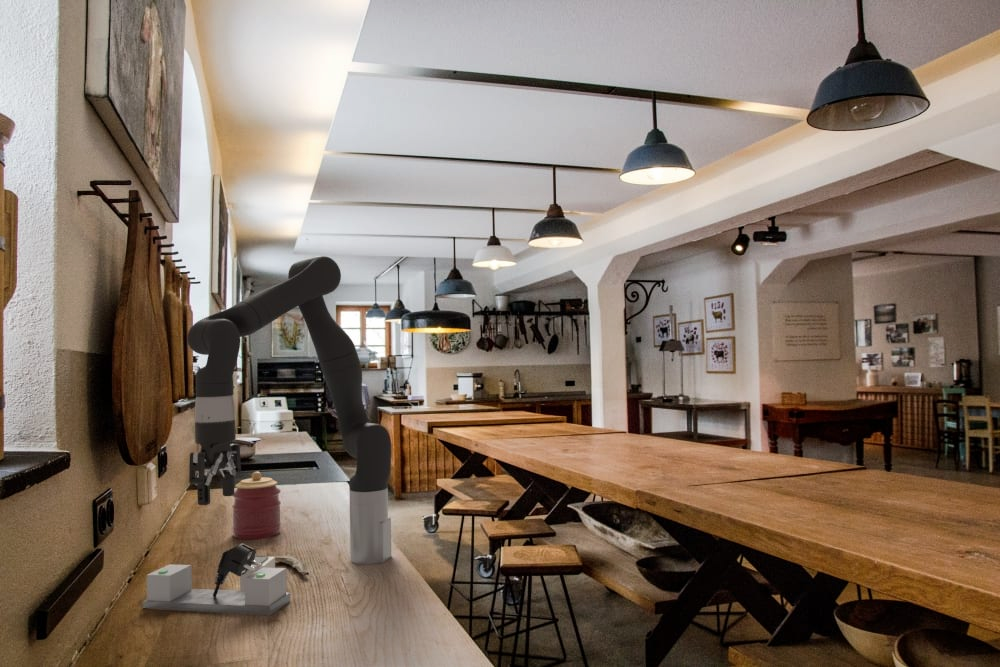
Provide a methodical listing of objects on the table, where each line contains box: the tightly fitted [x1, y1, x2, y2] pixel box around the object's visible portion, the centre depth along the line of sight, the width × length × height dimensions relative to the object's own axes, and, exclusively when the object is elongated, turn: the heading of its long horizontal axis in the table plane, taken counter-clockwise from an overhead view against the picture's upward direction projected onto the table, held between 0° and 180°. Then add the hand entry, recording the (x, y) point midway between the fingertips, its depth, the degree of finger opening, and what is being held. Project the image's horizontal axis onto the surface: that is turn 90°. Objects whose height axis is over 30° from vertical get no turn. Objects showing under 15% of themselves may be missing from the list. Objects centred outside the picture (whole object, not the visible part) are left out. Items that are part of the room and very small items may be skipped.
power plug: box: [213, 542, 262, 597], centre depth 138 cm, size 6×8×12 cm
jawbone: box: [255, 554, 310, 577], centre depth 163 cm, size 9×20×2 cm, turn 55°
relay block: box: [239, 556, 276, 591], centre depth 149 cm, size 5×7×6 cm
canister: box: [232, 471, 282, 540], centre depth 197 cm, size 13×13×18 cm
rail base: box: [142, 588, 291, 617], centre depth 138 cm, size 27×8×2 cm, turn 80°
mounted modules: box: [146, 563, 287, 606], centre depth 138 cm, size 26×7×5 cm, turn 80°
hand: (216, 500), depth 139 cm, fingers open, 8 cm apart
